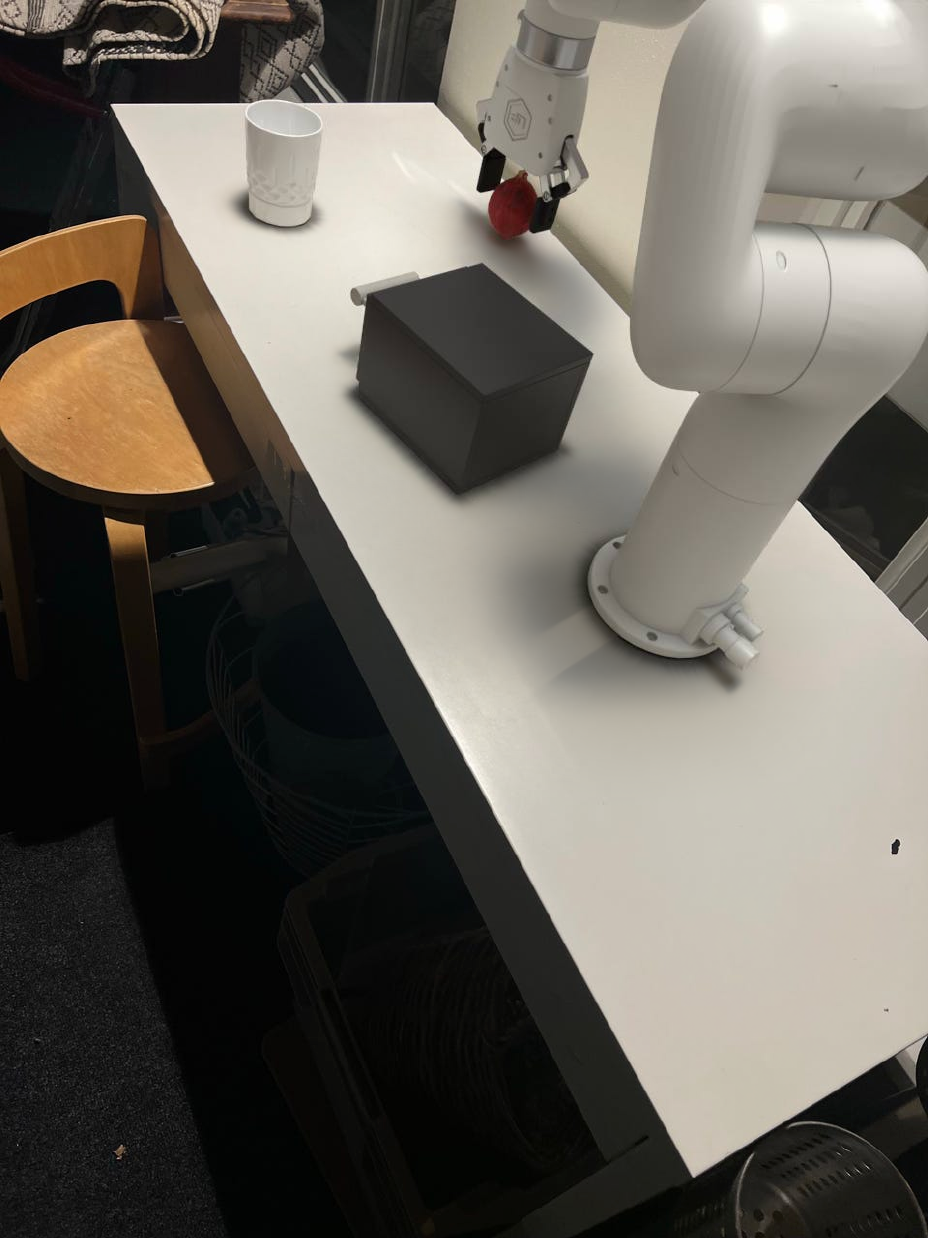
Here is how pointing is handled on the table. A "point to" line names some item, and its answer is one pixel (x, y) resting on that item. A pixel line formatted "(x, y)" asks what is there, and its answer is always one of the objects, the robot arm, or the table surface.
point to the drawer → (363, 296)
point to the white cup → (282, 160)
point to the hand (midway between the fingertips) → (513, 209)
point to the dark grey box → (469, 374)
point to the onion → (512, 206)
